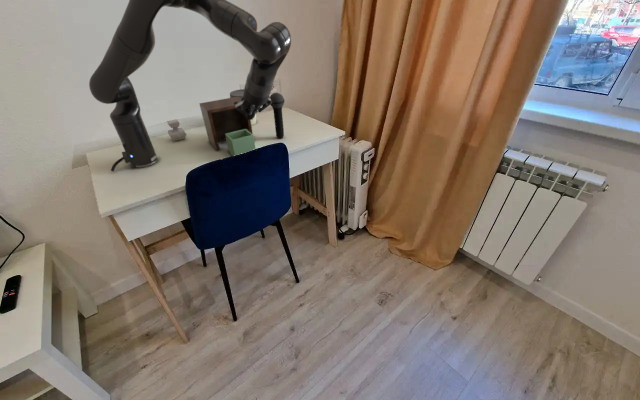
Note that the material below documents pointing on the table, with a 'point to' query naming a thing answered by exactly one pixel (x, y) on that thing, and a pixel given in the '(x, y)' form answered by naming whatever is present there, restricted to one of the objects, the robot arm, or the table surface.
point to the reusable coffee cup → (240, 94)
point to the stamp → (176, 130)
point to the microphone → (278, 113)
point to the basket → (240, 141)
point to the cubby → (223, 119)
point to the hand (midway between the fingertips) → (249, 117)
